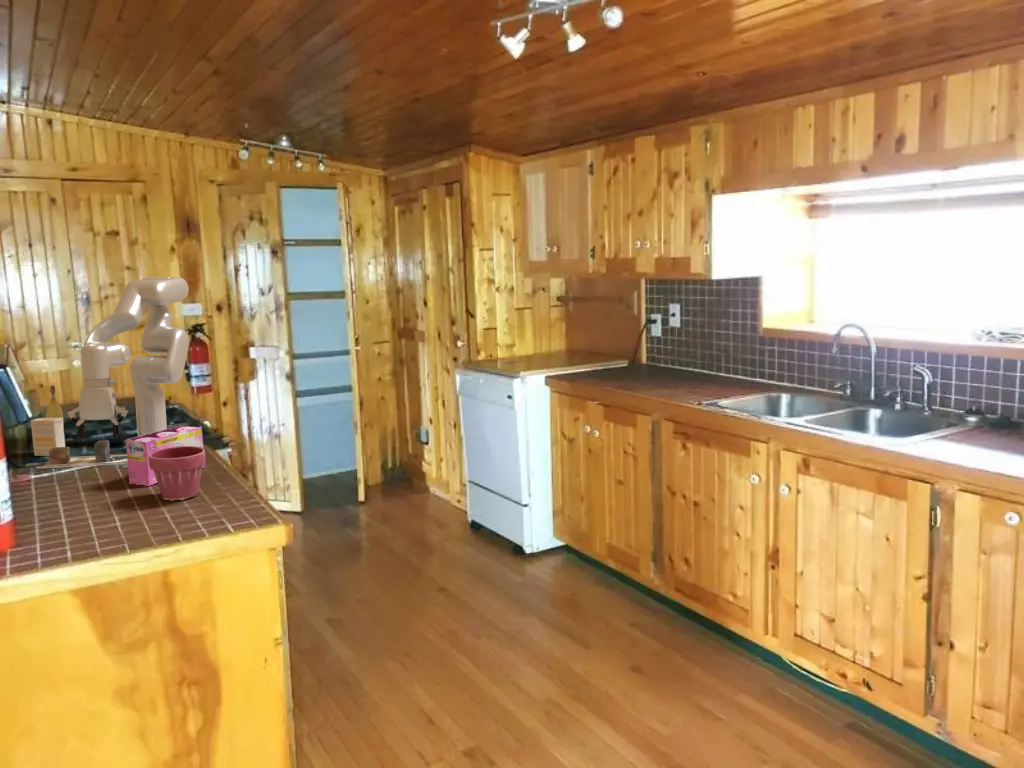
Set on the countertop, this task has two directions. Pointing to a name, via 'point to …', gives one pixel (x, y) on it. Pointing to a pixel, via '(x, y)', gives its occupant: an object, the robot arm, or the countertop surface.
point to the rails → (125, 464)
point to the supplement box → (47, 435)
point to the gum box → (155, 441)
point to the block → (59, 455)
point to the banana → (54, 407)
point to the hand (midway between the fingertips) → (99, 437)
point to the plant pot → (178, 470)
